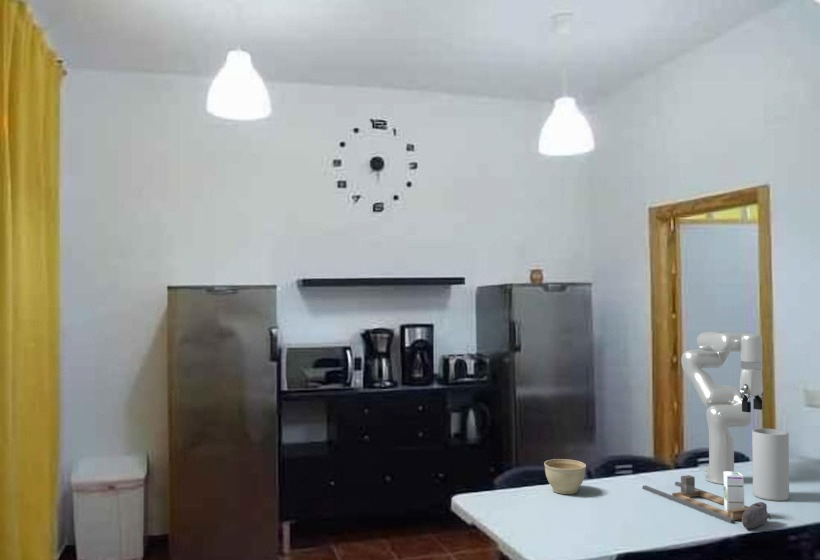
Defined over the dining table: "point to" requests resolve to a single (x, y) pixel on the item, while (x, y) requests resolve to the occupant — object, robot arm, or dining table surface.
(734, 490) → the syrup box
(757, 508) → the perforated stone tool
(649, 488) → the guide rails
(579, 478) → the planter bowl
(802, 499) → the dining table surface
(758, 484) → the cylinder vase
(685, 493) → the frame
